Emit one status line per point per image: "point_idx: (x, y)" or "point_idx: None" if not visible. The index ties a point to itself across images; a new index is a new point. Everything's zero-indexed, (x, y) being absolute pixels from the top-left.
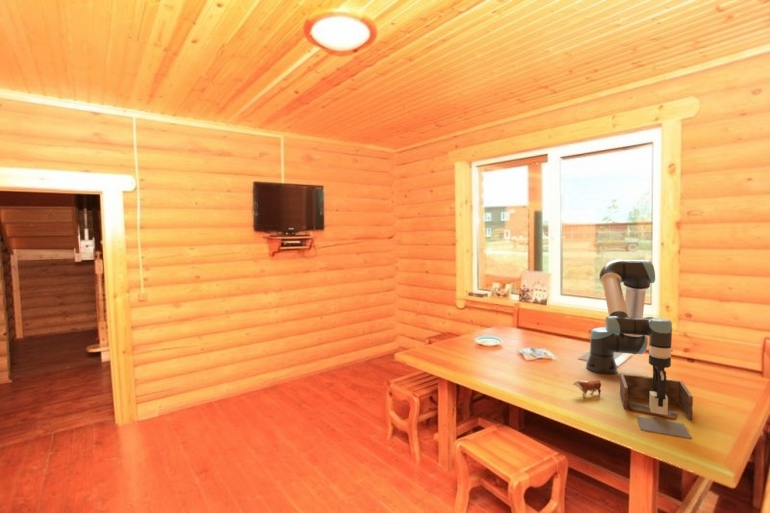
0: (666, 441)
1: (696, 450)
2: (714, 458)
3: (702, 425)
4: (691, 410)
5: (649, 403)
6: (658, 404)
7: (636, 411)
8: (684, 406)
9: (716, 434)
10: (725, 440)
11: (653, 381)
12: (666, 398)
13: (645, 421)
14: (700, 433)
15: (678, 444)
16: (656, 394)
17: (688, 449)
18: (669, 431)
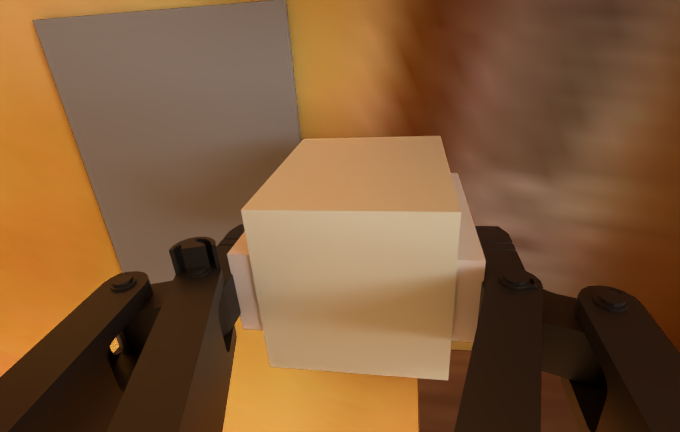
0: (6, 168)
1: (24, 286)
2: (7, 331)
3: (363, 388)
4: (418, 418)
5: (429, 148)
6: (238, 233)
7: (426, 5)
8: (554, 395)
9: (276, 409)
10: (229, 419)
11: (631, 398)
12: (269, 351)
13: (205, 70)
14: (243, 352)
15: (22, 223)
16: (342, 278)
17: (4, 256)
18: (140, 210)
